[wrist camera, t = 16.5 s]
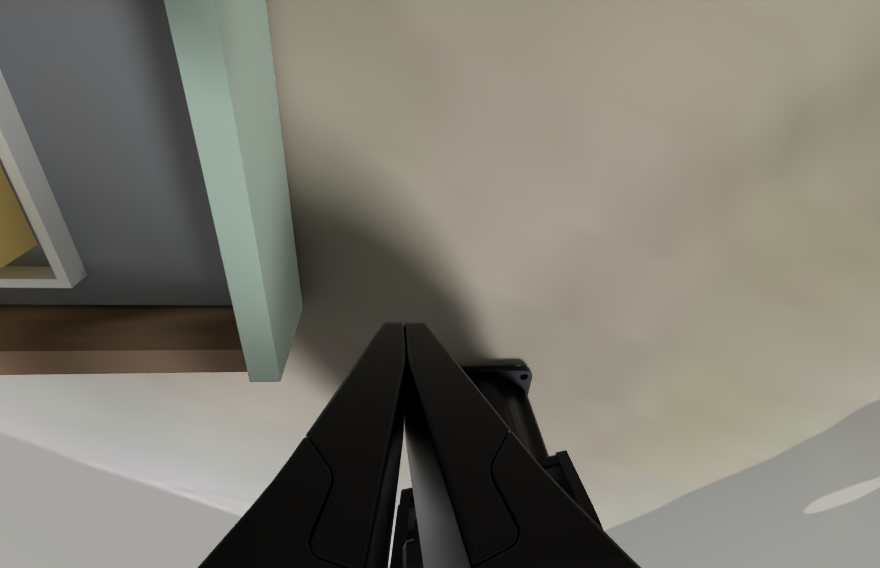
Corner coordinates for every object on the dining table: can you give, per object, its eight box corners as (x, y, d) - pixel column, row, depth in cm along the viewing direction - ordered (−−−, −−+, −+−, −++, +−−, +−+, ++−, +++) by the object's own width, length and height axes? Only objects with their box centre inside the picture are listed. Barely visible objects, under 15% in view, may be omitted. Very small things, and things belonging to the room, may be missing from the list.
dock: (216, -59, 14) (142, -90, 10) (274, 303, 22) (247, 371, 18) (-339, -113, 13) (-708, -177, 8) (-65, 302, 20) (-184, 377, 16)
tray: (258, -57, 14) (198, -88, 10) (302, 308, 22) (280, 381, 18) (-294, -110, 12) (-667, -178, 8) (-34, 307, 20) (-153, 388, 16)
